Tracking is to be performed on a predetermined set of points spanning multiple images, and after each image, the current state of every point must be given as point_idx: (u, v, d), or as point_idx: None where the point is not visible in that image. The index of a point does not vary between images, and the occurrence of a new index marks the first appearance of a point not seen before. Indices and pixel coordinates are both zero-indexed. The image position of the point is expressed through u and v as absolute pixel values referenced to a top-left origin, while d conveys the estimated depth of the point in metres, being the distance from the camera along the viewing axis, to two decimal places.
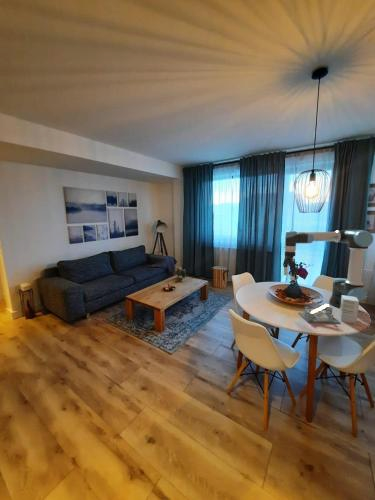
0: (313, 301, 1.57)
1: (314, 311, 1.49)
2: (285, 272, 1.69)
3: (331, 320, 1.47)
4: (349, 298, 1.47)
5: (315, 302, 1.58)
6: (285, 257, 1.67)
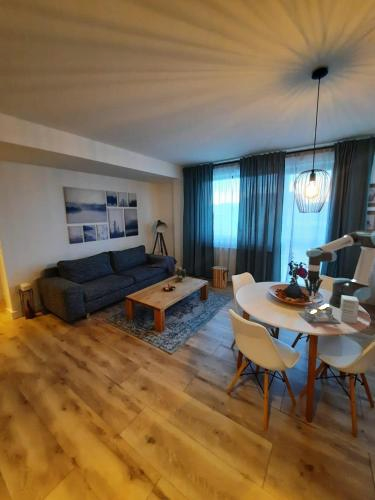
0: (313, 301, 1.57)
1: (314, 311, 1.49)
2: None
3: (331, 320, 1.47)
4: (349, 298, 1.47)
5: None
6: None
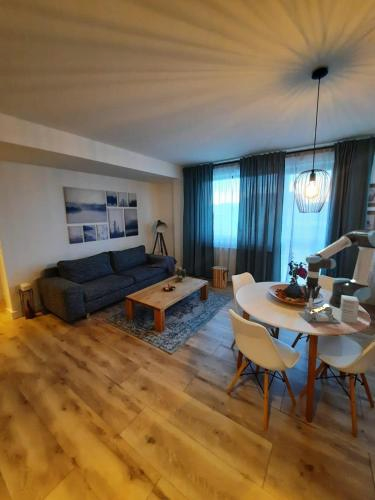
0: None
1: (314, 311, 1.49)
2: (310, 302, 1.57)
3: (331, 320, 1.47)
4: (349, 298, 1.47)
5: None
6: None
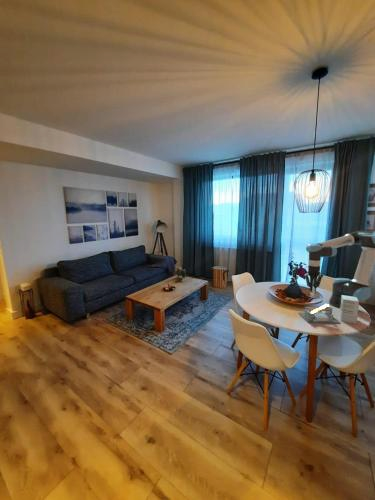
0: (310, 307, 1.58)
1: (314, 311, 1.49)
2: None
3: (331, 320, 1.47)
4: (349, 298, 1.47)
5: (313, 307, 1.59)
6: None
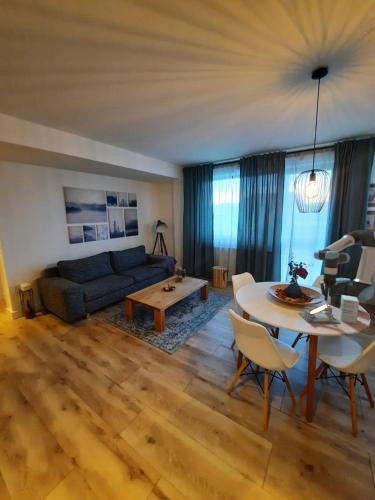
0: (310, 307, 1.58)
1: (314, 311, 1.49)
2: None
3: (331, 320, 1.47)
4: (349, 298, 1.47)
5: (313, 307, 1.59)
6: None
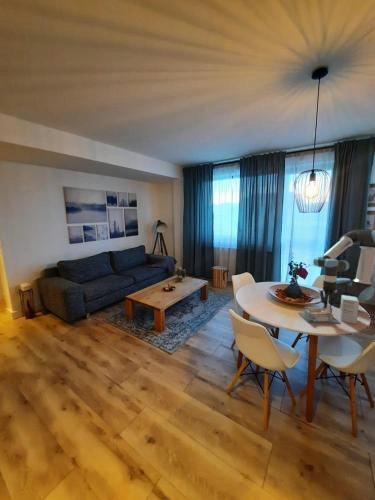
0: (310, 307, 1.58)
1: (315, 313, 1.49)
2: None
3: (331, 320, 1.47)
4: (349, 298, 1.47)
5: (313, 307, 1.59)
6: None
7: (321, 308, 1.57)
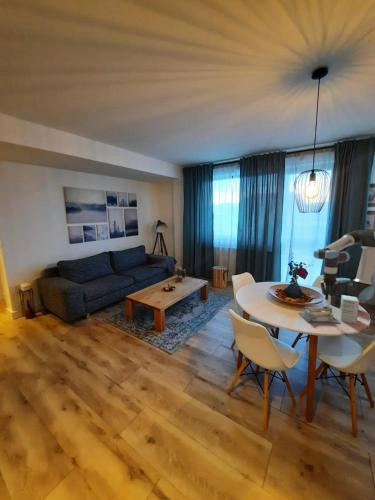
0: (310, 307, 1.58)
1: (315, 313, 1.49)
2: None
3: (331, 320, 1.47)
4: (349, 298, 1.47)
5: (313, 307, 1.59)
6: None
7: (321, 308, 1.57)
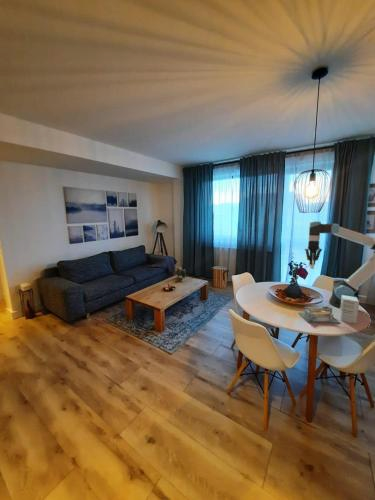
0: (310, 307, 1.58)
1: (315, 313, 1.49)
2: None
3: (331, 320, 1.47)
4: (349, 298, 1.47)
5: (313, 307, 1.59)
6: None
7: (321, 308, 1.57)
